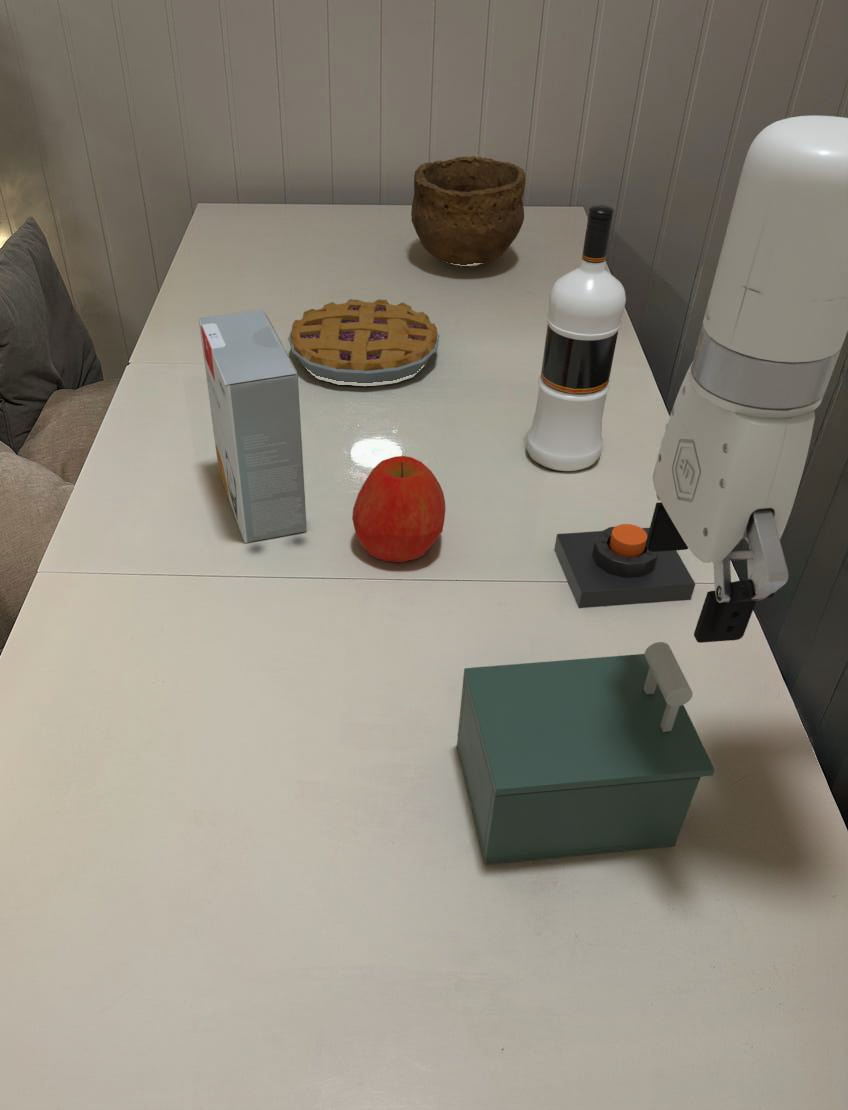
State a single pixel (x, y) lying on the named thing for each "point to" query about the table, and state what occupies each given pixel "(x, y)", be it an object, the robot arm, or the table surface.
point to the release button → (628, 540)
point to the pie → (363, 341)
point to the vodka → (578, 356)
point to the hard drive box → (255, 423)
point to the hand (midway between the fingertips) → (690, 591)
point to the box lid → (586, 722)
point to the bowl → (468, 208)
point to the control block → (619, 572)
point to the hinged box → (567, 810)
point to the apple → (399, 510)
